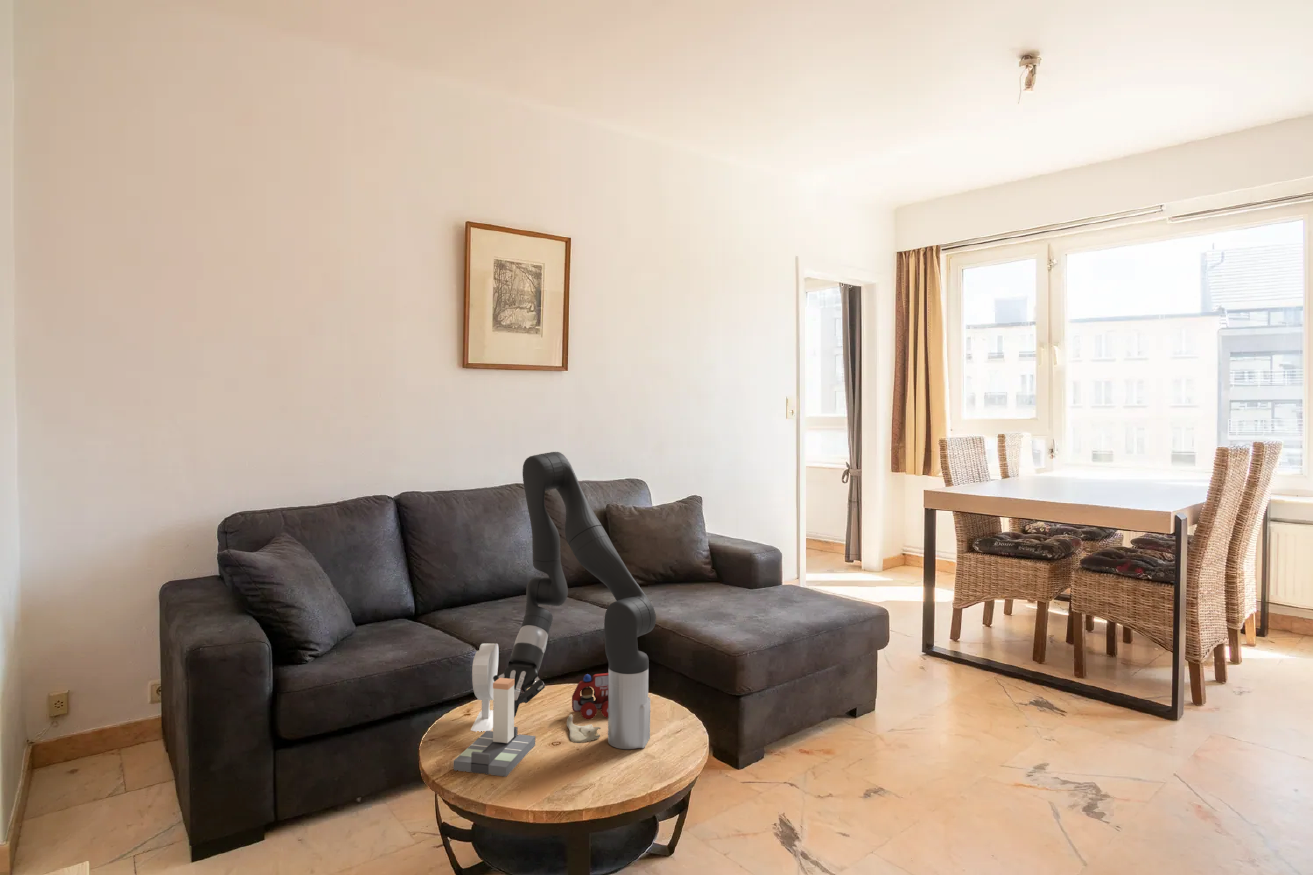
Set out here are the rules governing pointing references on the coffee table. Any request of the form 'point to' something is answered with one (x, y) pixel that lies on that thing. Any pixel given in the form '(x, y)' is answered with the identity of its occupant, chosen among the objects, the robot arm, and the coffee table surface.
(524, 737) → the console
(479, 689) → the heart sculpture
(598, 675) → the toy fire truck
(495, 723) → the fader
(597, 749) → the coffee table surface
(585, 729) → the fossil
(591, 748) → the coffee table surface
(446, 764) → the coffee table surface
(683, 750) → the coffee table surface
